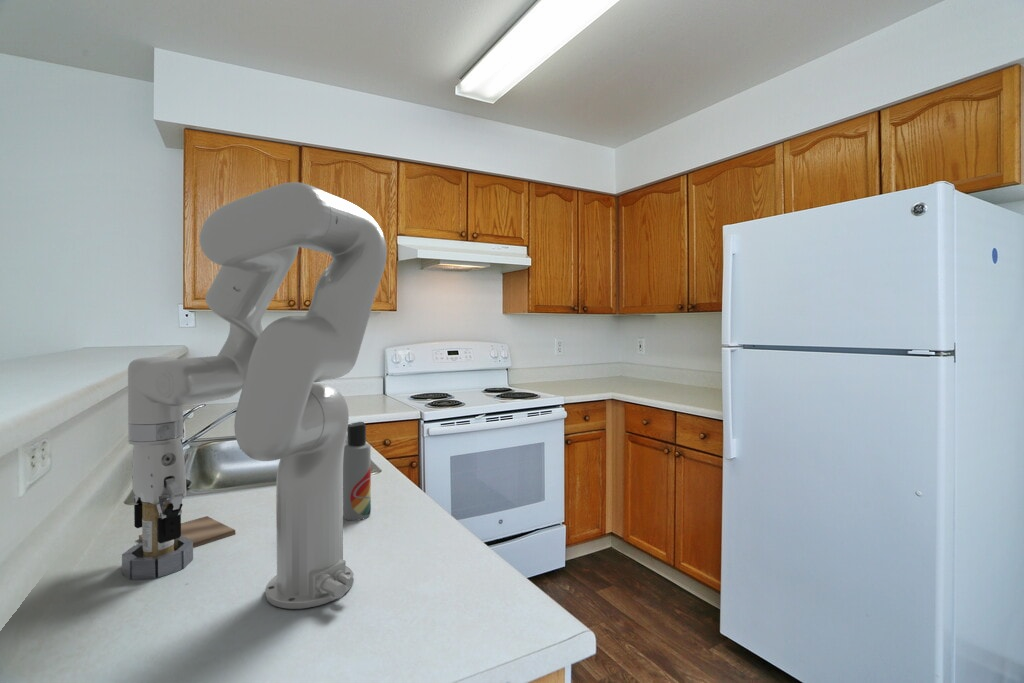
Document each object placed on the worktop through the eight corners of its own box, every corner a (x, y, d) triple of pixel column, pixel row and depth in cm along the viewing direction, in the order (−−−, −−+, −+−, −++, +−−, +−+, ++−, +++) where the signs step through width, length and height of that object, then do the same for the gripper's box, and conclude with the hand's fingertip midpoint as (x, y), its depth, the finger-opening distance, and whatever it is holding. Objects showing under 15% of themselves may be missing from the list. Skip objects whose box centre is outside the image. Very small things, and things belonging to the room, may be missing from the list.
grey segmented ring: (200, 563, 87) (200, 545, 86) (136, 585, 79) (136, 566, 79) (177, 548, 92) (177, 532, 92) (115, 568, 85) (115, 550, 84)
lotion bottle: (374, 517, 108) (374, 423, 107) (347, 523, 104) (347, 426, 104) (365, 509, 112) (365, 419, 112) (339, 514, 109) (339, 422, 109)
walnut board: (235, 534, 99) (235, 529, 99) (165, 556, 89) (164, 552, 89) (207, 519, 106) (206, 516, 106) (138, 539, 96) (138, 535, 96)
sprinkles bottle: (174, 567, 85) (173, 488, 84) (141, 575, 82) (139, 492, 82) (175, 557, 89) (173, 480, 88) (142, 563, 86) (141, 485, 86)
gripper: (204, 435, 83) (204, 538, 83) (161, 421, 93) (161, 514, 94) (150, 443, 77) (151, 554, 77) (110, 428, 87) (111, 527, 87)
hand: (157, 532), depth 85 cm, fingers open, 9 cm apart
